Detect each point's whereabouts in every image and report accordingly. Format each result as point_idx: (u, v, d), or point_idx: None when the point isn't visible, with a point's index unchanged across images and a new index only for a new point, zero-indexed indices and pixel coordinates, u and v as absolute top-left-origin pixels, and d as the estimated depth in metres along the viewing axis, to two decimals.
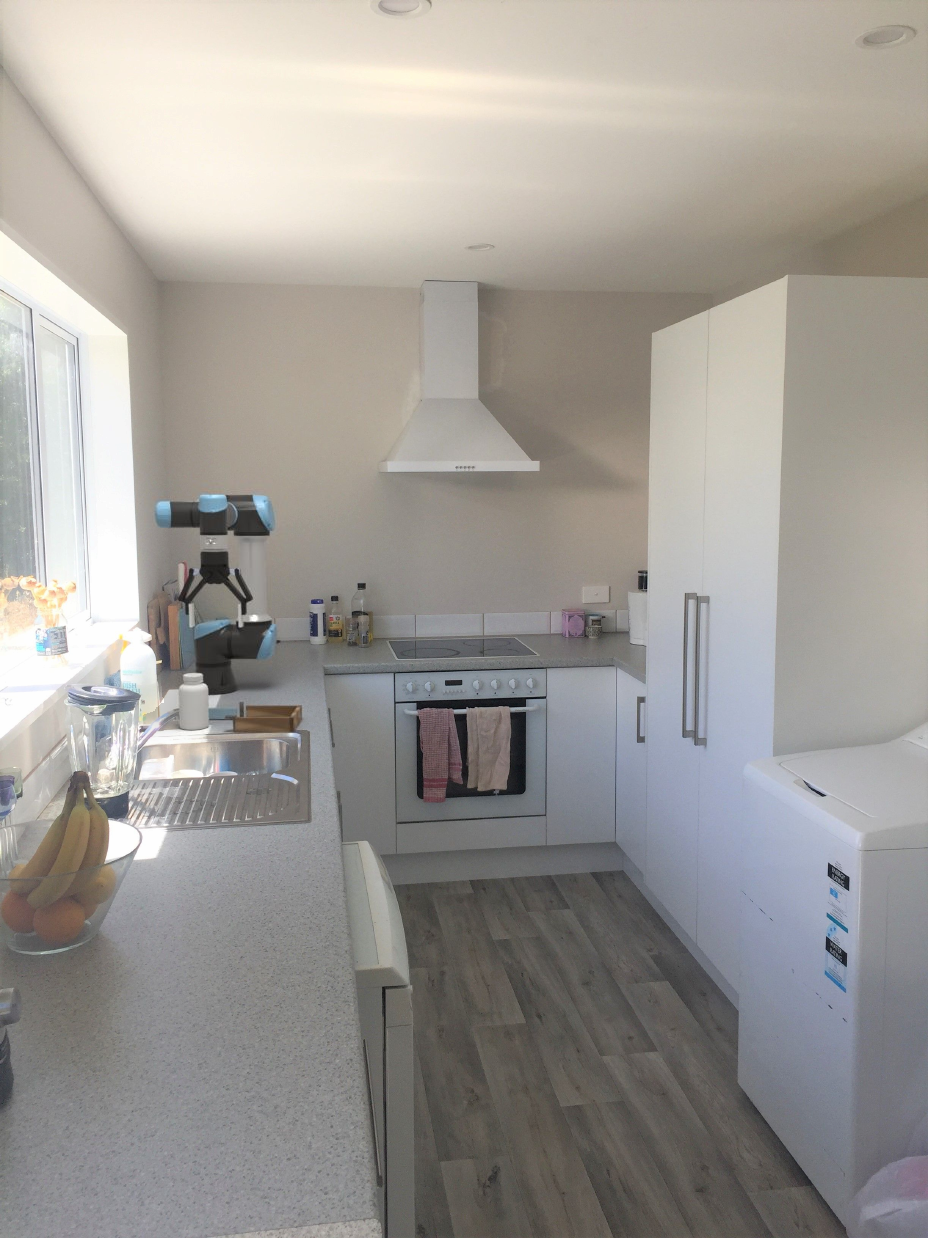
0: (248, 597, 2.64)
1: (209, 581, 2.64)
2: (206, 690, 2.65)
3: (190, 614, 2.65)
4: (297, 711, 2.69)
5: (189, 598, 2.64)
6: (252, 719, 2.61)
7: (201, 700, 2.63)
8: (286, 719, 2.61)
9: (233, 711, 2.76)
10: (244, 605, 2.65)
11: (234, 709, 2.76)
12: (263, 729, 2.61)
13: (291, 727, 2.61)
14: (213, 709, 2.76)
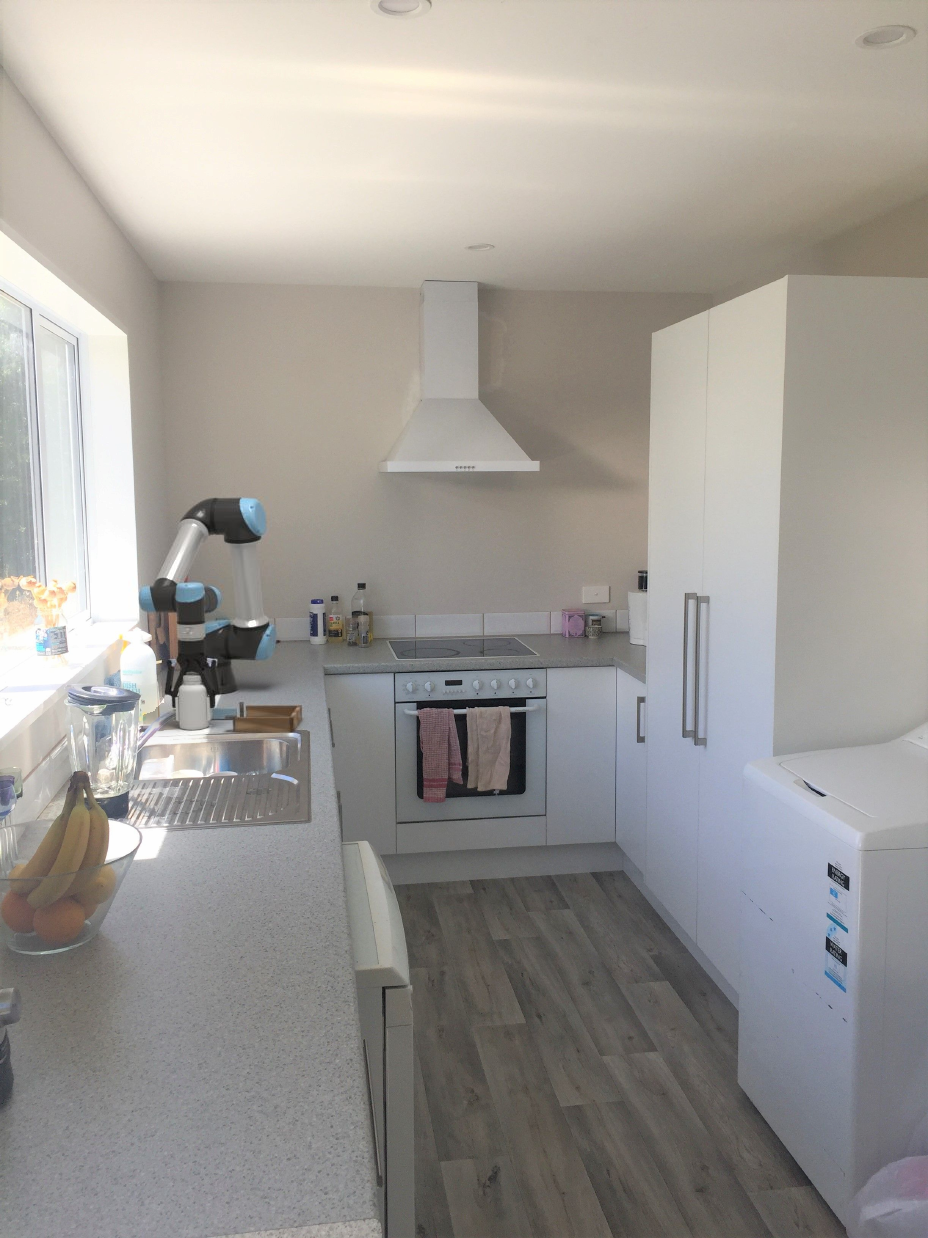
0: (217, 690, 2.65)
1: (186, 669, 2.64)
2: (206, 690, 2.65)
3: (177, 707, 2.65)
4: (297, 711, 2.69)
5: (175, 691, 2.64)
6: (252, 719, 2.61)
7: (201, 700, 2.63)
8: (286, 719, 2.61)
9: (233, 711, 2.76)
10: (213, 698, 2.65)
11: (234, 709, 2.76)
12: (263, 729, 2.61)
13: (291, 727, 2.61)
14: (213, 709, 2.76)
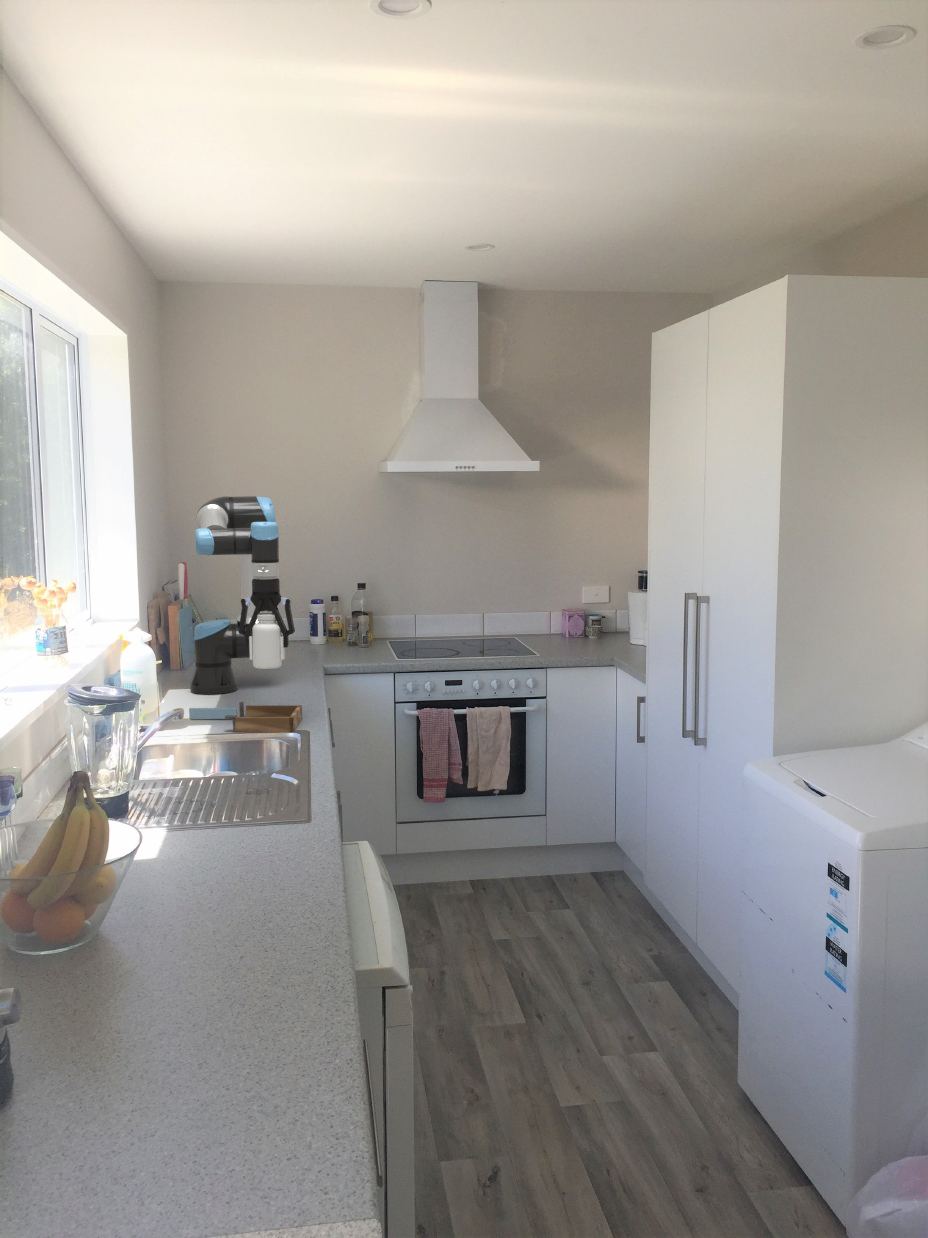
0: (291, 630, 2.65)
1: (260, 608, 2.64)
2: None
3: (250, 647, 2.65)
4: (297, 711, 2.69)
5: (248, 630, 2.65)
6: (252, 719, 2.61)
7: (275, 638, 2.64)
8: (286, 719, 2.61)
9: (233, 711, 2.76)
10: (286, 638, 2.66)
11: (234, 709, 2.76)
12: (263, 729, 2.61)
13: (291, 727, 2.61)
14: (213, 709, 2.76)
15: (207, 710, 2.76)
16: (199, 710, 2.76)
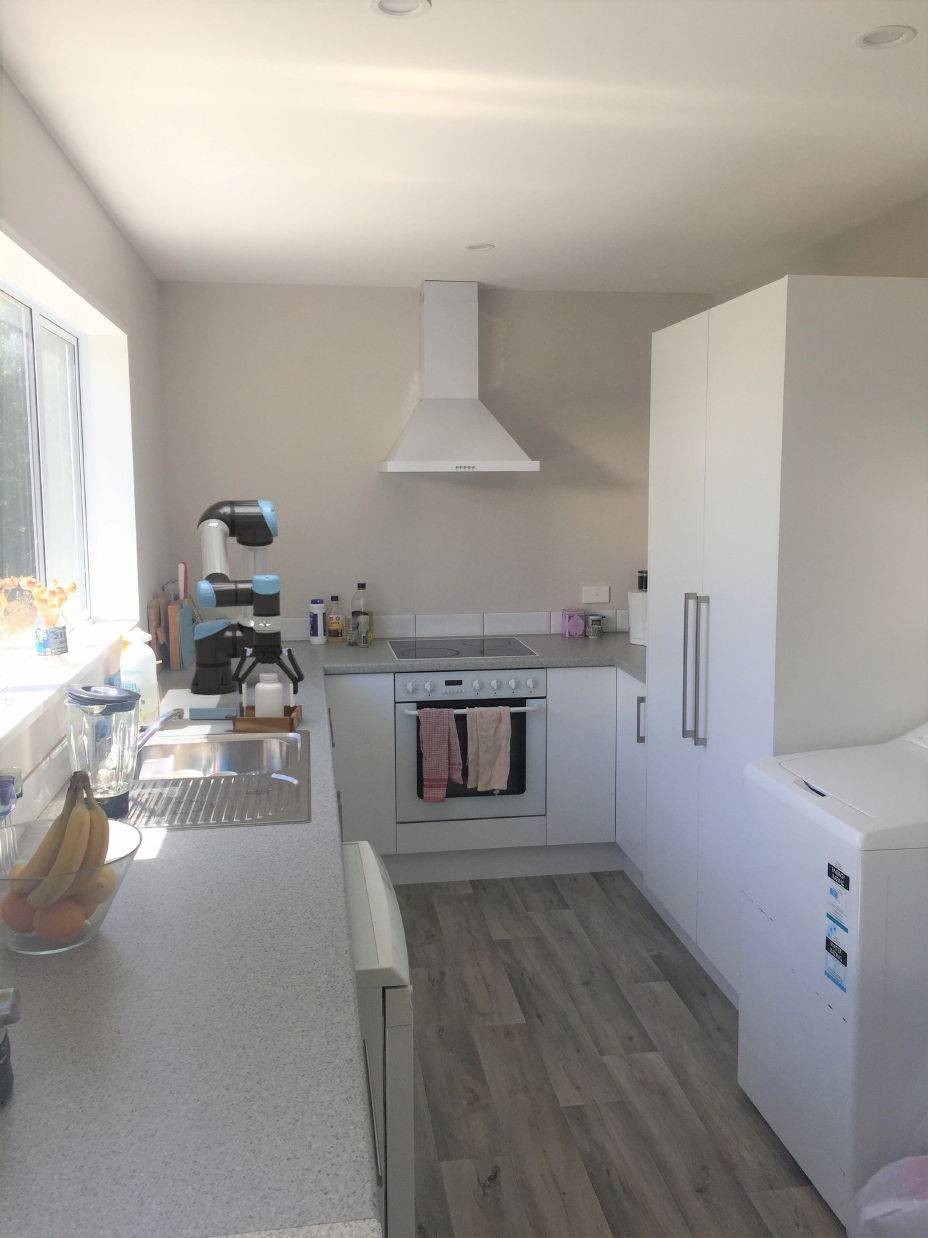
0: (300, 677, 2.67)
1: (262, 661, 2.66)
2: (282, 688, 2.67)
3: (243, 694, 2.67)
4: (297, 711, 2.69)
5: (242, 678, 2.66)
6: (252, 719, 2.61)
7: (278, 698, 2.66)
8: (286, 719, 2.61)
9: (233, 711, 2.76)
10: (296, 685, 2.67)
11: (234, 709, 2.76)
12: (263, 729, 2.61)
13: (291, 727, 2.61)
14: (213, 709, 2.76)
15: (207, 710, 2.76)
16: (199, 710, 2.76)
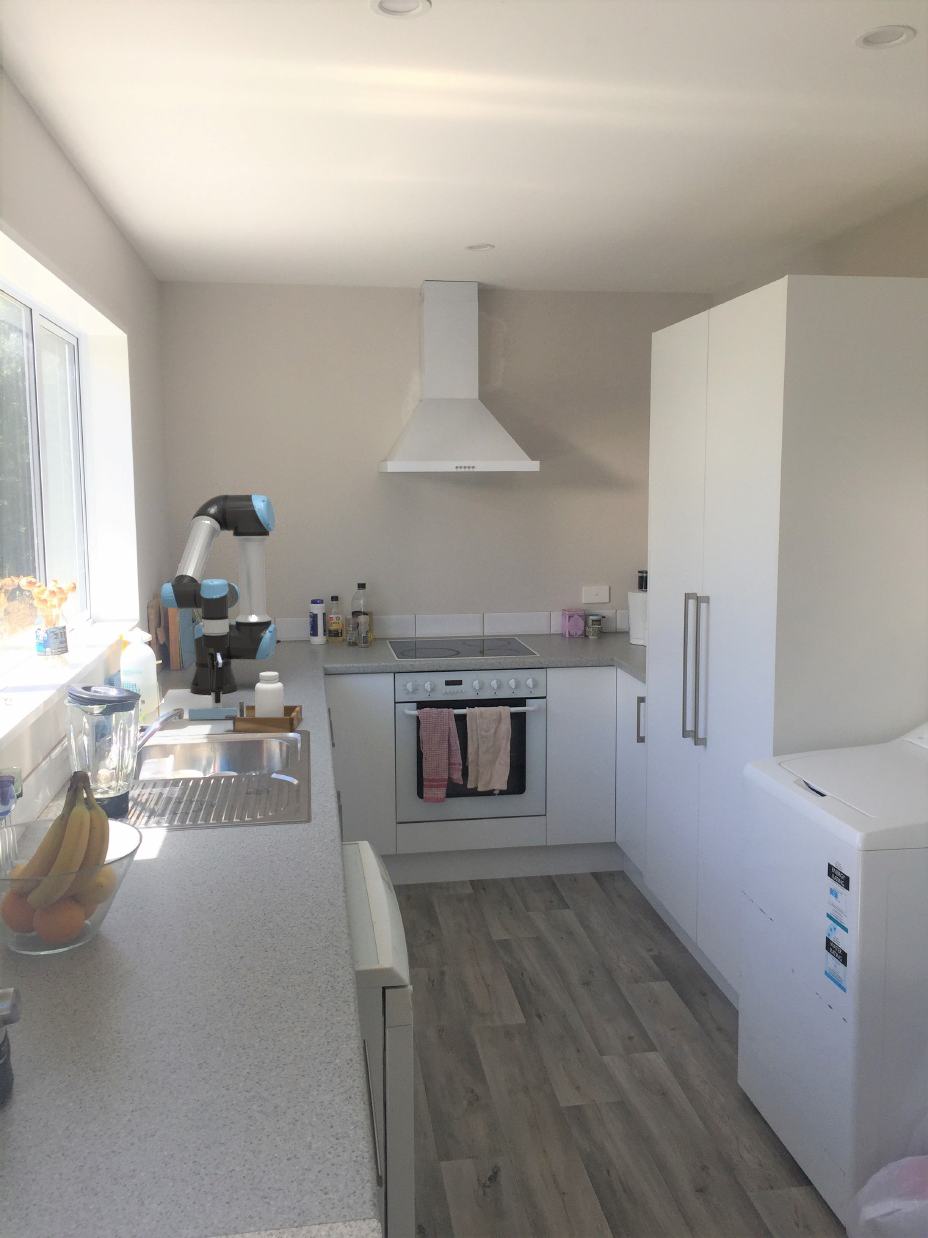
0: (214, 687, 2.73)
1: None
2: (282, 688, 2.67)
3: None
4: (297, 711, 2.69)
5: (211, 685, 2.77)
6: (252, 719, 2.61)
7: (278, 698, 2.66)
8: (286, 719, 2.61)
9: (233, 711, 2.76)
10: (215, 694, 2.75)
11: (234, 709, 2.76)
12: (263, 729, 2.61)
13: (291, 727, 2.61)
14: (213, 709, 2.75)
15: (207, 710, 2.75)
16: (199, 710, 2.75)
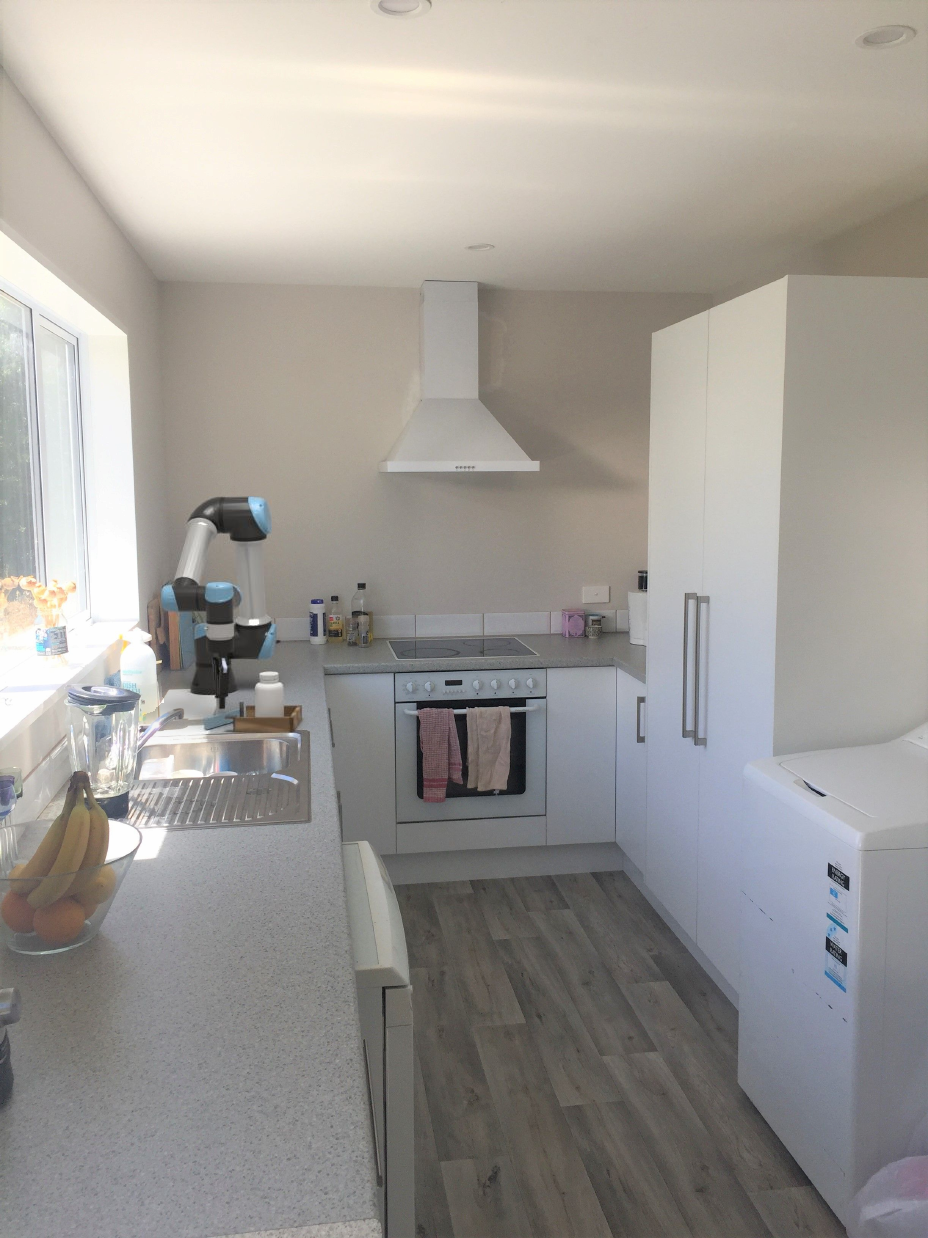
0: (218, 693, 2.67)
1: None
2: (282, 688, 2.67)
3: (216, 707, 2.71)
4: (297, 711, 2.69)
5: (216, 690, 2.71)
6: (252, 719, 2.61)
7: (278, 698, 2.66)
8: (286, 719, 2.61)
9: (237, 713, 2.74)
10: (219, 699, 2.69)
11: (238, 710, 2.74)
12: (263, 729, 2.61)
13: (291, 727, 2.61)
14: (223, 714, 2.69)
15: (219, 716, 2.68)
16: (214, 718, 2.66)
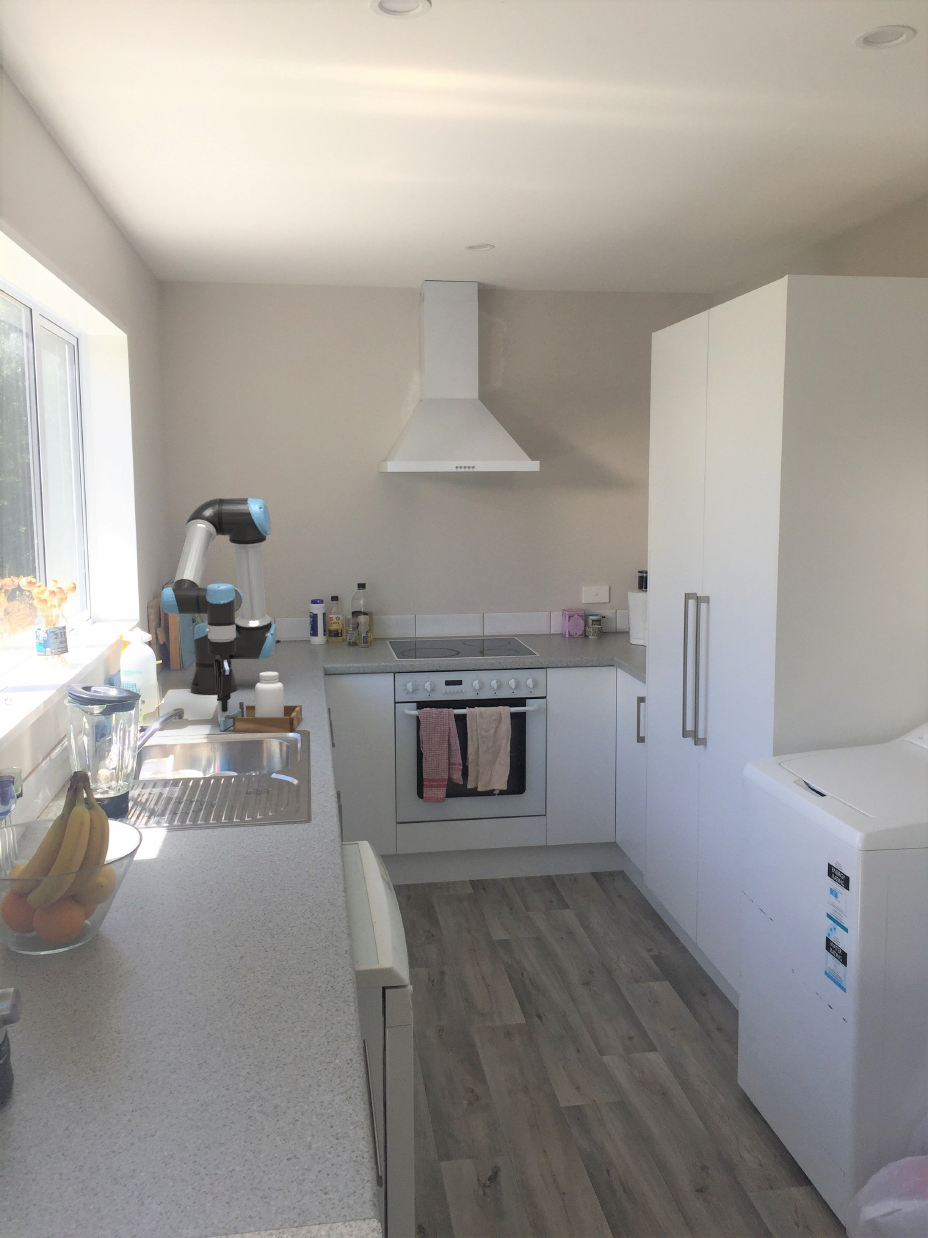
0: (221, 696, 2.64)
1: None
2: (282, 688, 2.67)
3: (218, 710, 2.68)
4: (297, 711, 2.69)
5: (217, 692, 2.68)
6: (252, 719, 2.61)
7: (278, 698, 2.66)
8: (286, 719, 2.61)
9: (240, 713, 2.74)
10: (222, 702, 2.66)
11: (240, 710, 2.74)
12: (263, 729, 2.61)
13: (291, 727, 2.61)
14: None
15: None
16: (227, 719, 2.64)
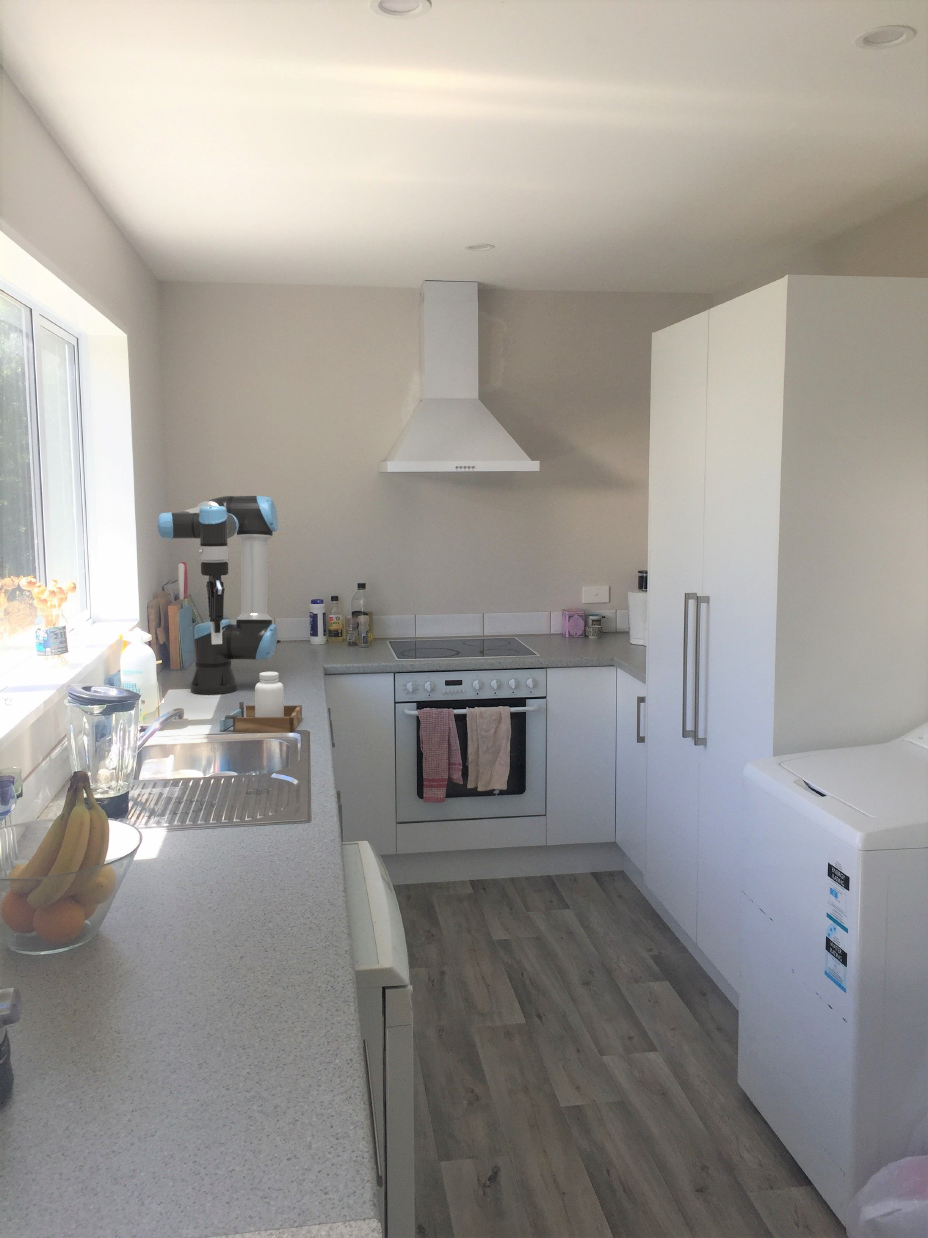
0: (214, 616, 2.68)
1: (210, 590, 2.71)
2: (282, 688, 2.67)
3: (211, 631, 2.72)
4: (297, 711, 2.69)
5: (210, 614, 2.72)
6: (252, 719, 2.61)
7: (278, 698, 2.66)
8: (286, 719, 2.61)
9: (240, 713, 2.74)
10: (215, 623, 2.70)
11: (240, 710, 2.74)
12: (263, 729, 2.61)
13: (291, 727, 2.61)
14: None
15: None
16: (227, 719, 2.64)
